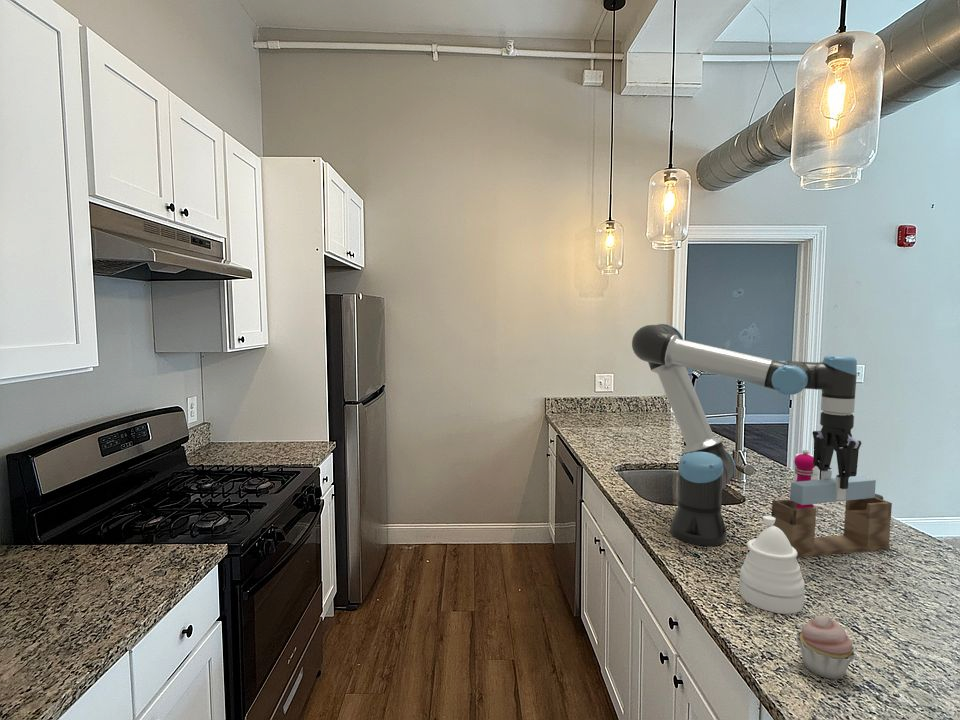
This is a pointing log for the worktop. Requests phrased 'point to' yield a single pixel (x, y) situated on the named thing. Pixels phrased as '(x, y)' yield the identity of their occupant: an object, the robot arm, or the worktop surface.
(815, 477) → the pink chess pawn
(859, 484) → the rail
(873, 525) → the bracket
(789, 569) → the honey pot
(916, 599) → the worktop surface
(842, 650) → the cupcake
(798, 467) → the pepper mill
